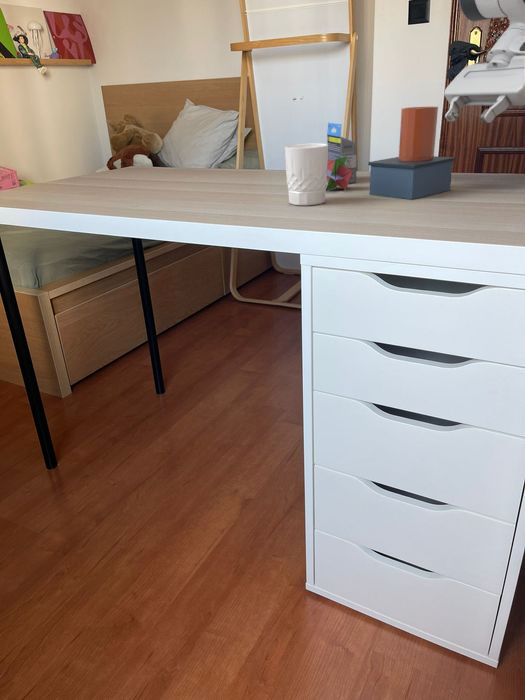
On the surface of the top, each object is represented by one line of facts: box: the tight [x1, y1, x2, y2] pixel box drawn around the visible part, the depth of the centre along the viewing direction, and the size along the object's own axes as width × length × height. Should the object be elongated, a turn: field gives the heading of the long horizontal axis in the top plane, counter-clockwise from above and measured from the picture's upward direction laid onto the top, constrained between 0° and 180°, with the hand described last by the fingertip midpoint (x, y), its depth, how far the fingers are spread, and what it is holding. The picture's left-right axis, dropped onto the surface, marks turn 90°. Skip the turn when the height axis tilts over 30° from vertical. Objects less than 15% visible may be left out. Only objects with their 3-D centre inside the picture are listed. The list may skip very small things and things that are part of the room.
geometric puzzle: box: [325, 157, 353, 192], centre depth 108 cm, size 7×7×8 cm
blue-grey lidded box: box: [367, 155, 456, 200], centre depth 102 cm, size 13×11×6 cm
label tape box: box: [326, 121, 358, 184], centre depth 117 cm, size 9×4×12 cm, turn 13°
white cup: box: [283, 142, 328, 207], centre depth 97 cm, size 8×8×10 cm
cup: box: [398, 106, 439, 161], centre depth 98 cm, size 6×6×9 cm
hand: (465, 119), depth 101 cm, fingers open, 8 cm apart
